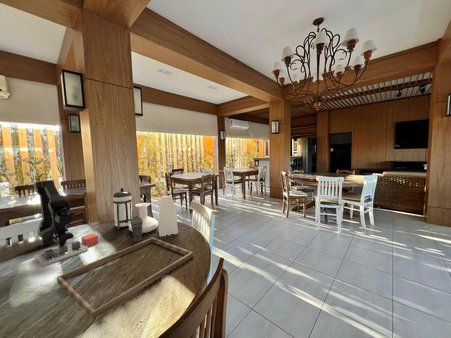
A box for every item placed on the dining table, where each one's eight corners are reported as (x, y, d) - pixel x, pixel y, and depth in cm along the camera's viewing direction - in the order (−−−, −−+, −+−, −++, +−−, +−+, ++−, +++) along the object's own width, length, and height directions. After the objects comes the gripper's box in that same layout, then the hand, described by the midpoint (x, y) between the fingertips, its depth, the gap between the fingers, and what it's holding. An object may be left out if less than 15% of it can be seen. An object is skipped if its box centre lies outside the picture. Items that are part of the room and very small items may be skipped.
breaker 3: (72, 247, 112) (71, 242, 112) (78, 245, 114) (77, 240, 114) (74, 248, 110) (73, 243, 110) (80, 246, 113) (80, 241, 112)
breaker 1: (44, 256, 102) (44, 251, 102) (51, 254, 104) (51, 248, 104) (46, 258, 100) (45, 252, 100) (53, 255, 103) (53, 250, 102)
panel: (34, 259, 104) (34, 254, 103) (79, 244, 120) (78, 240, 120) (42, 266, 96) (41, 262, 96) (88, 250, 113) (87, 246, 113)
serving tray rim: (57, 282, 84) (56, 276, 84) (152, 241, 124) (152, 237, 124) (93, 320, 65) (92, 313, 65) (193, 256, 105) (192, 252, 104)
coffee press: (106, 229, 144) (104, 189, 141) (121, 222, 159) (120, 186, 157) (128, 231, 141) (126, 190, 138) (141, 223, 156) (139, 186, 154)
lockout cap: (81, 244, 121) (81, 237, 120) (93, 240, 126) (93, 233, 126) (86, 246, 117) (85, 239, 117) (98, 242, 123) (97, 235, 122)
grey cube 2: (59, 252, 107) (58, 246, 106) (65, 249, 109) (65, 244, 109) (61, 253, 105) (60, 248, 105) (67, 251, 107) (67, 246, 107)
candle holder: (149, 236, 131) (148, 208, 130) (122, 234, 134) (121, 207, 133) (163, 225, 151) (162, 201, 150) (139, 224, 154) (138, 200, 153)
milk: (175, 228, 146) (174, 194, 144) (177, 233, 136) (176, 197, 134) (158, 230, 141) (157, 195, 139) (159, 236, 131) (158, 198, 129)
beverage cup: (138, 242, 122) (137, 211, 121) (128, 241, 124) (127, 210, 122) (145, 237, 129) (144, 208, 128) (136, 236, 131) (134, 207, 129)
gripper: (34, 222, 106) (37, 250, 107) (45, 229, 96) (47, 260, 97) (60, 216, 115) (62, 242, 116) (72, 222, 105) (74, 250, 106)
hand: (61, 248), depth 109 cm, fingers closed
